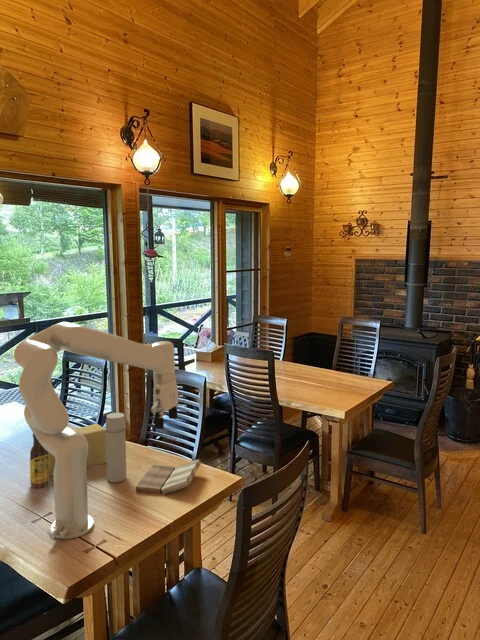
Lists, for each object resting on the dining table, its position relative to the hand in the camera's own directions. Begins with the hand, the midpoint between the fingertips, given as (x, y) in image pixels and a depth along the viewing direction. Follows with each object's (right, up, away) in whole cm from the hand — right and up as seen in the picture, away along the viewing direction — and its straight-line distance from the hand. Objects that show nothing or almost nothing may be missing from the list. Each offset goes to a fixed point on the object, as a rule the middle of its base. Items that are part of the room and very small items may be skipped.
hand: (166, 423), depth 170 cm
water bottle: (-20, -24, +11) cm, 33 cm away
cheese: (-39, -22, +21) cm, 49 cm away
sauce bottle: (-48, -24, +6) cm, 54 cm away
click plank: (+5, -22, +7) cm, 24 cm away
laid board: (-5, -24, +9) cm, 26 cm away
